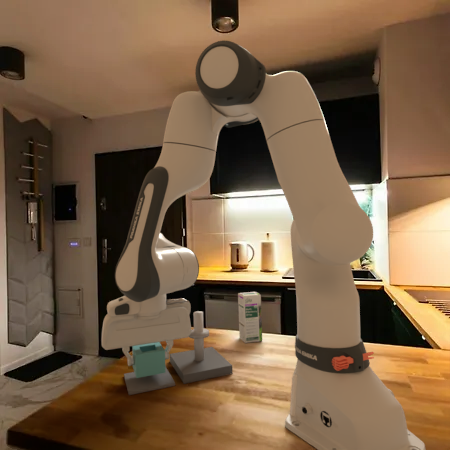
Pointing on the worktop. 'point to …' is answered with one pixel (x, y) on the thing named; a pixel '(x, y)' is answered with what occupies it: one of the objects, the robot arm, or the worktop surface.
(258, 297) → the syrup box
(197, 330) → the stand
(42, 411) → the worktop surface
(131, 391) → the mat
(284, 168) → the robot arm
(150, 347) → the collar
